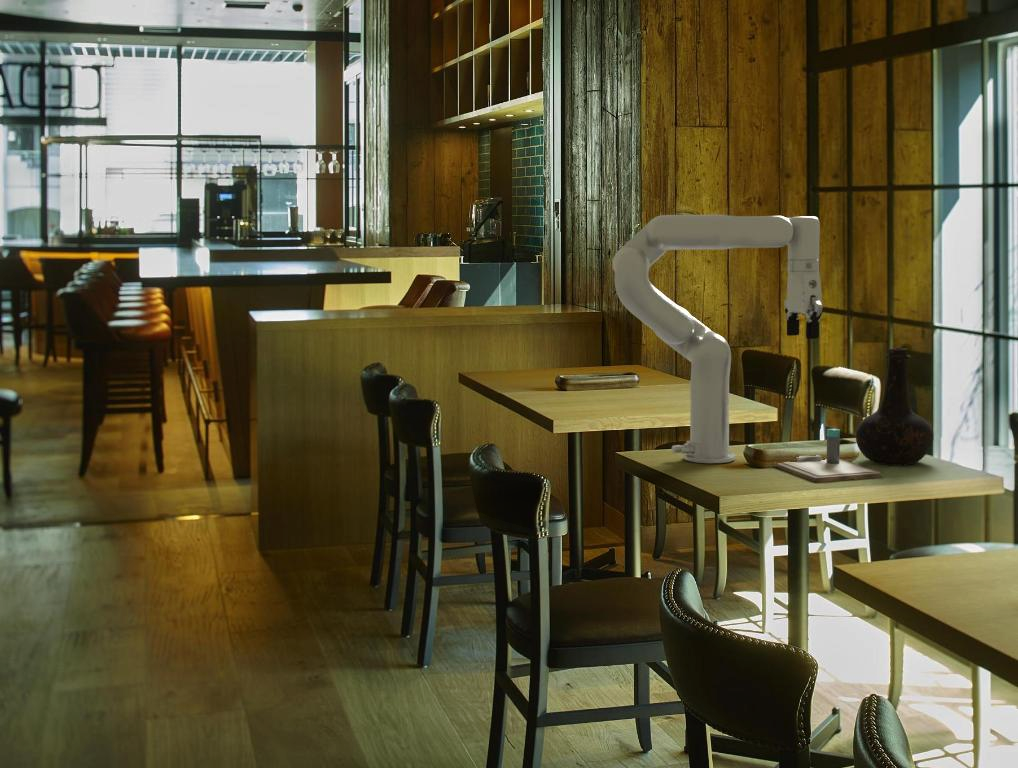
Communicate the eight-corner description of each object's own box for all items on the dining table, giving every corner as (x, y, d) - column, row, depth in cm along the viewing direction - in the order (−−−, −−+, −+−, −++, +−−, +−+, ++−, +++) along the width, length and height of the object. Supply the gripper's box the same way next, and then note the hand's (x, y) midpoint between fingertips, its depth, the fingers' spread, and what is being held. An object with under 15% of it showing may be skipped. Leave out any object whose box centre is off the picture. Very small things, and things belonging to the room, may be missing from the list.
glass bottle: (844, 465, 304) (846, 349, 301) (870, 453, 319) (873, 343, 315) (918, 472, 294) (921, 353, 291) (942, 460, 308) (945, 346, 305)
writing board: (815, 482, 284) (815, 472, 284) (774, 466, 303) (774, 457, 303) (882, 477, 289) (882, 467, 288) (837, 462, 308) (837, 453, 308)
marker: (829, 464, 299) (829, 431, 298) (824, 462, 302) (824, 429, 301) (841, 463, 300) (841, 430, 299) (836, 461, 302) (836, 428, 301)
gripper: (835, 267, 301) (834, 339, 303) (800, 266, 317) (799, 333, 320) (806, 268, 299) (806, 340, 301) (772, 266, 316) (772, 334, 318)
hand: (802, 336), depth 310 cm, fingers open, 9 cm apart
